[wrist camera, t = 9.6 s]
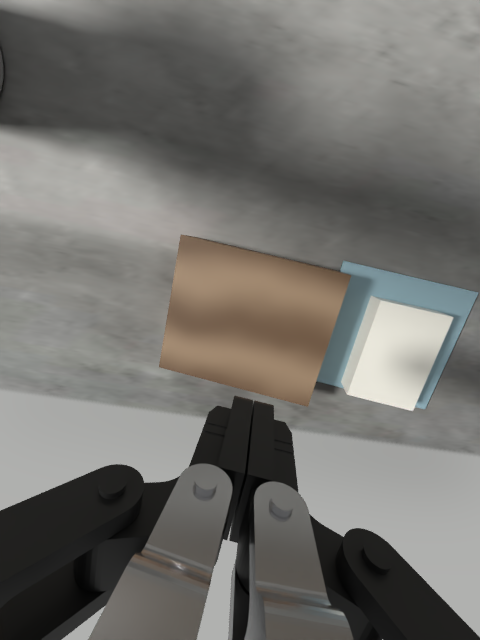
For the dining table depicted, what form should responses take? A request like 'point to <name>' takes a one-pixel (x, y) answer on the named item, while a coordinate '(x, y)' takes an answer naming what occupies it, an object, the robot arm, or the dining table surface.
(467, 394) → the dining table surface
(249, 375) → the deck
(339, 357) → the mat
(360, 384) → the white bevelled block
